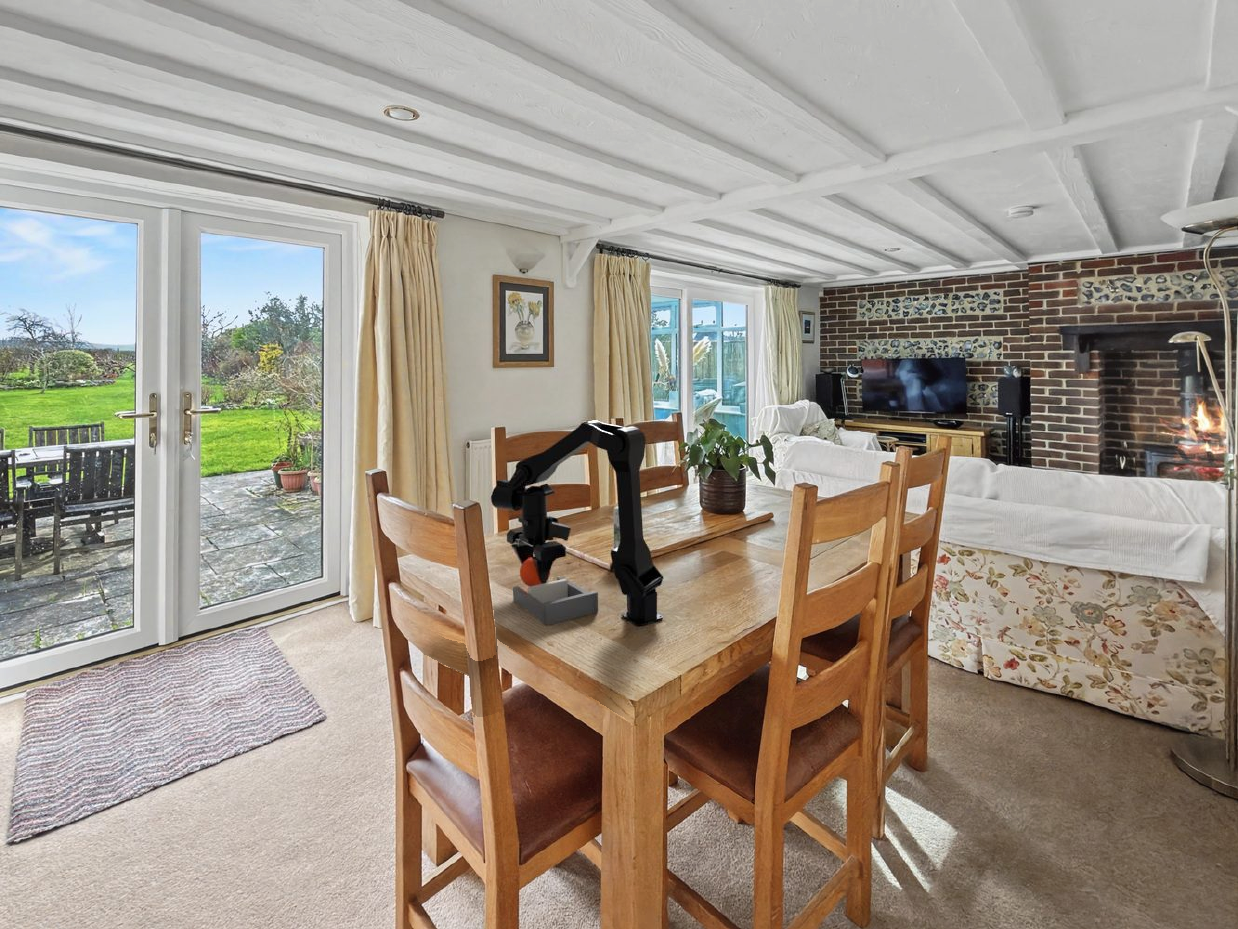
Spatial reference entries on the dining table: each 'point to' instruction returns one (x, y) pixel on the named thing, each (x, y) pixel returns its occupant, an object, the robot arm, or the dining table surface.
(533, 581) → the clementine
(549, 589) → the pusher paddle
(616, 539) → the syrup box
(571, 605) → the grey shallow tray
